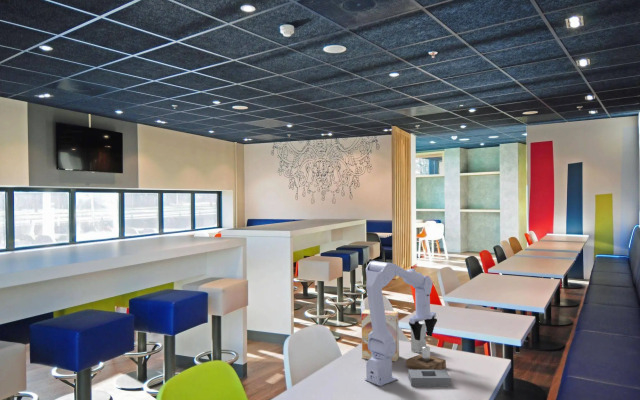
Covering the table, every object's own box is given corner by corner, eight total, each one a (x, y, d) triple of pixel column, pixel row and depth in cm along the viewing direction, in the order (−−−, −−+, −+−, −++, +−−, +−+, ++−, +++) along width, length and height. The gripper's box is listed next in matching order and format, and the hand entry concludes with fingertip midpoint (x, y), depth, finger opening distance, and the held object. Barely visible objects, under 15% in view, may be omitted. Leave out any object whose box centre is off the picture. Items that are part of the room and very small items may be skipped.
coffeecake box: (361, 358, 197) (360, 312, 196) (365, 353, 203) (364, 308, 203) (397, 361, 192) (396, 314, 192) (399, 356, 199) (398, 310, 199)
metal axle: (426, 369, 183) (426, 349, 183) (420, 367, 186) (420, 347, 186) (431, 367, 185) (431, 347, 185) (425, 365, 188) (425, 345, 188)
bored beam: (411, 386, 167) (411, 377, 167) (408, 377, 175) (408, 369, 175) (450, 386, 166) (450, 377, 166) (445, 377, 174) (445, 369, 174)
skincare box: (419, 353, 202) (418, 325, 202) (410, 350, 205) (409, 323, 205) (427, 349, 206) (426, 322, 206) (418, 347, 210) (417, 320, 210)
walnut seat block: (428, 374, 178) (428, 366, 178) (406, 366, 186) (406, 359, 186) (445, 367, 185) (445, 359, 185) (423, 360, 193) (423, 353, 193)
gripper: (418, 309, 182) (419, 344, 182) (441, 303, 191) (442, 336, 191) (405, 306, 187) (405, 339, 187) (428, 300, 196) (428, 332, 196)
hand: (423, 337), depth 189 cm, fingers open, 7 cm apart
